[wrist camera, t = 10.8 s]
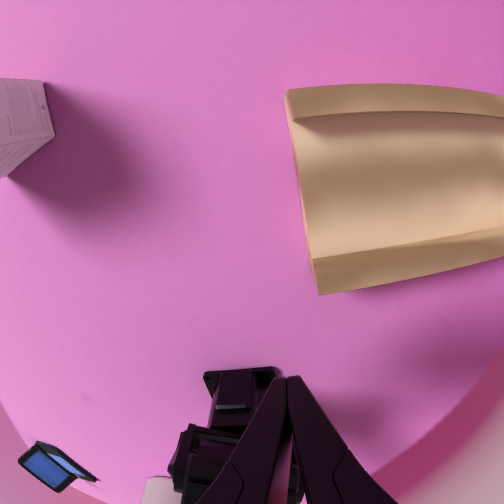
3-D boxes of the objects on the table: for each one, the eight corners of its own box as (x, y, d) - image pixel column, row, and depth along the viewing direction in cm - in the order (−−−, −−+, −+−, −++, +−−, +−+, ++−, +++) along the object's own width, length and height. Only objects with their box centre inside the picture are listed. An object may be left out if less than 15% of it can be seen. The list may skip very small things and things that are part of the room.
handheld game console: (99, 479, 45) (89, 506, 36) (68, 470, 47) (58, 494, 39) (55, 444, 40) (40, 474, 31) (29, 436, 42) (15, 461, 33)
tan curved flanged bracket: (486, 231, 18) (521, 253, 14) (308, 262, 20) (319, 298, 15) (481, 98, 14) (522, 97, 10) (283, 99, 16) (288, 85, 11)
